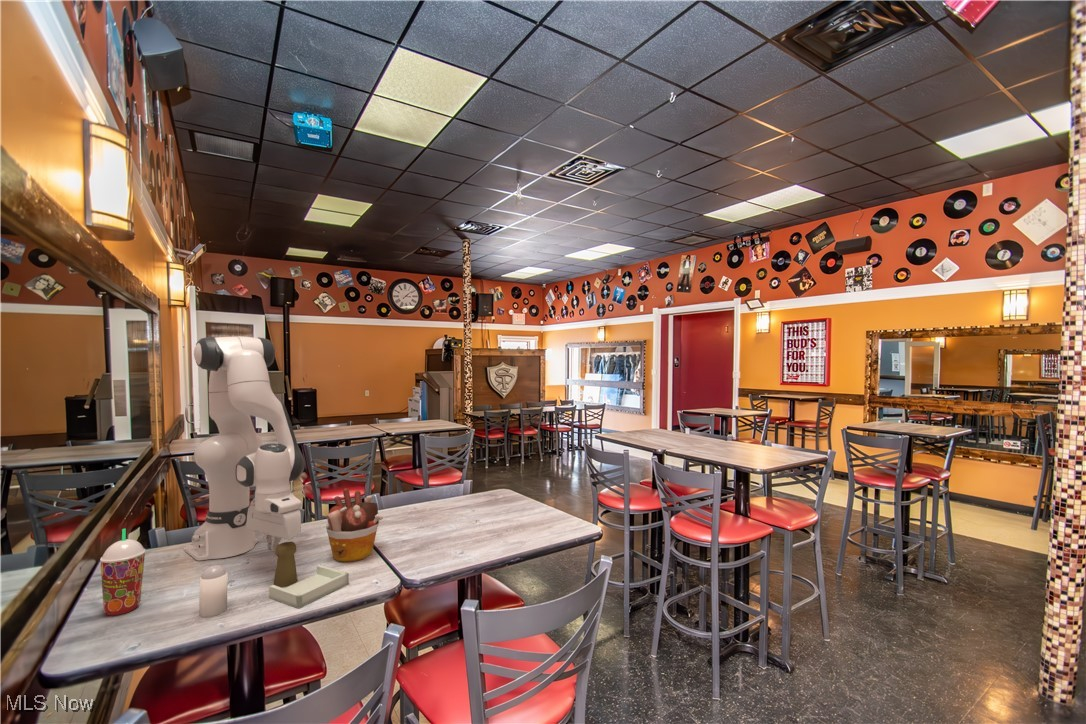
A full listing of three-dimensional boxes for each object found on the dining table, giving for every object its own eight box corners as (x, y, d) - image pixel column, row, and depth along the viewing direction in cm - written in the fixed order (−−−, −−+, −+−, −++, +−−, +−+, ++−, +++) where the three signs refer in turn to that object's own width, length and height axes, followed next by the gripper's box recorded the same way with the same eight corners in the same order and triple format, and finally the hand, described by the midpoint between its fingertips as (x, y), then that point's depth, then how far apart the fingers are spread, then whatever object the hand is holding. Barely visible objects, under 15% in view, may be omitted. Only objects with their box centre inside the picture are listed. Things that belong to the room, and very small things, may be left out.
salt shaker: (194, 614, 112) (195, 567, 112) (219, 603, 117) (220, 559, 117) (207, 619, 109) (207, 572, 109) (231, 609, 114) (232, 563, 114)
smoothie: (91, 622, 108) (93, 536, 109) (108, 605, 116) (110, 526, 116) (136, 614, 112) (138, 532, 112) (149, 599, 119) (151, 521, 120)
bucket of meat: (387, 559, 145) (388, 496, 145) (331, 572, 135) (332, 504, 136) (370, 540, 161) (370, 483, 162) (319, 551, 151) (319, 490, 152)
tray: (269, 597, 120) (269, 586, 120) (320, 575, 133) (320, 564, 133) (298, 608, 114) (298, 596, 114) (348, 584, 128) (348, 573, 128)
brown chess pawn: (280, 589, 124) (281, 548, 125) (268, 584, 128) (269, 544, 128) (302, 581, 129) (302, 542, 130) (290, 576, 133) (290, 537, 133)
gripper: (240, 499, 134) (240, 547, 133) (284, 508, 124) (283, 559, 124) (262, 494, 139) (261, 540, 139) (305, 502, 130) (305, 551, 130)
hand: (272, 549), depth 131 cm, fingers closed
